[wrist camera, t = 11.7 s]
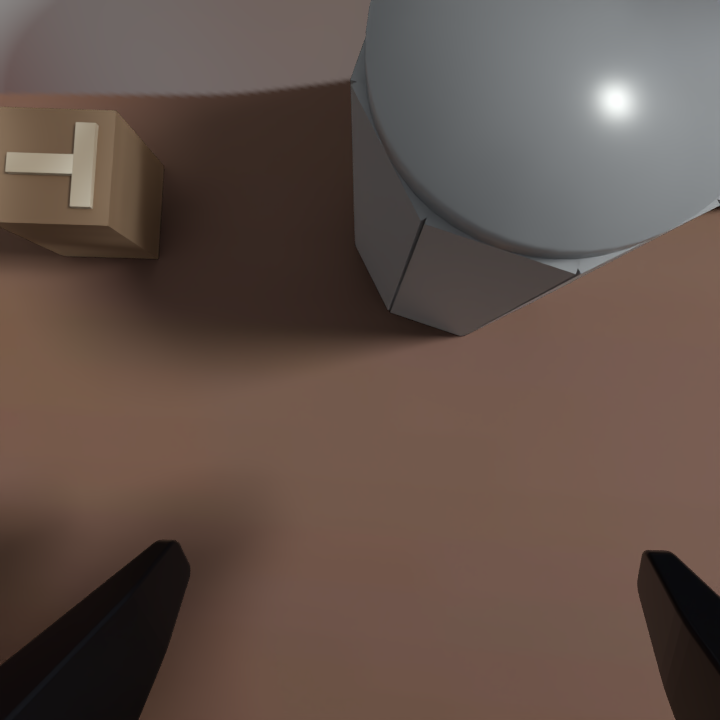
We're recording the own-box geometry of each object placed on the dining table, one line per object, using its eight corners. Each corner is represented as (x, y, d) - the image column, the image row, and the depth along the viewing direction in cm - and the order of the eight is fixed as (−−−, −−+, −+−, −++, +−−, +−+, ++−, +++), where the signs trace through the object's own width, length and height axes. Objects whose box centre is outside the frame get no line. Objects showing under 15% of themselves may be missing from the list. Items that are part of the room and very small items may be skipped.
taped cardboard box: (163, 166, 18) (113, 107, 14) (158, 259, 18) (105, 223, 14) (66, 163, 18) (-11, 103, 14) (58, 256, 18) (-21, 219, 14)
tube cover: (413, 361, 18) (483, 321, 8) (330, 196, 18) (296, -45, 8) (579, 278, 18) (857, 136, 8) (494, 117, 18) (656, -210, 8)
